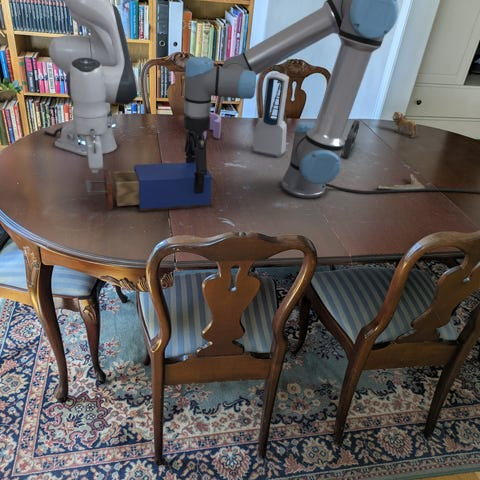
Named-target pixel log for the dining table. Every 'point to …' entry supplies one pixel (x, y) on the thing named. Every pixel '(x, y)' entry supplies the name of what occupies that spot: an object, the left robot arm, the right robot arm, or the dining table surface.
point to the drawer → (118, 188)
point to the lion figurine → (404, 123)
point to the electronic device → (272, 121)
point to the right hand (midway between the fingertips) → (194, 184)
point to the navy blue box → (170, 187)
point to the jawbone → (414, 185)
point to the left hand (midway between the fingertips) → (95, 170)
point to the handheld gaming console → (351, 139)
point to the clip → (214, 125)
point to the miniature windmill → (278, 68)
